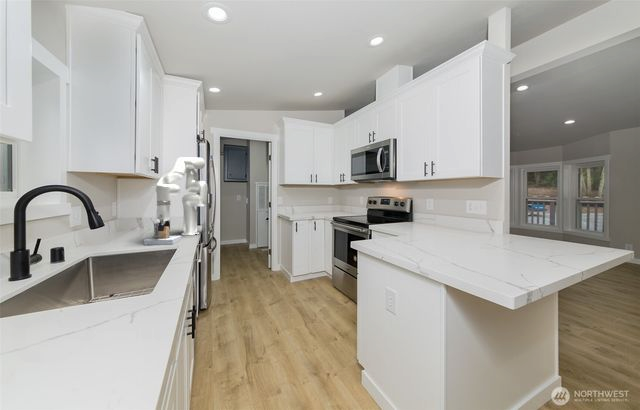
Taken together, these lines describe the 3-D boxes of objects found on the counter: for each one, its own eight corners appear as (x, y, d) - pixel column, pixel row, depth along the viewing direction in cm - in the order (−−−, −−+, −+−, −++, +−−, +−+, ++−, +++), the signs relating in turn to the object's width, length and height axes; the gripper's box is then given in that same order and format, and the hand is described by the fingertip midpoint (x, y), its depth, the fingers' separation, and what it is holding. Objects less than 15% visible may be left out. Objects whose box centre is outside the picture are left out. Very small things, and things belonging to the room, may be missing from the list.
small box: (170, 238, 179) (170, 223, 179) (160, 239, 174) (160, 224, 174) (163, 236, 185) (163, 222, 185) (153, 238, 180) (153, 223, 180)
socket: (155, 240, 170) (155, 236, 170) (181, 240, 173) (181, 235, 173) (144, 245, 154) (143, 240, 154) (172, 244, 157) (172, 239, 157)
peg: (161, 241, 165) (161, 226, 165) (168, 241, 166) (168, 226, 166) (158, 243, 161) (158, 227, 161) (166, 243, 162) (166, 227, 162)
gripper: (162, 202, 171) (163, 228, 172) (151, 204, 154) (151, 232, 155) (175, 202, 172) (175, 227, 173) (164, 204, 155) (165, 232, 156)
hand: (164, 229), depth 164 cm, fingers open, 9 cm apart
